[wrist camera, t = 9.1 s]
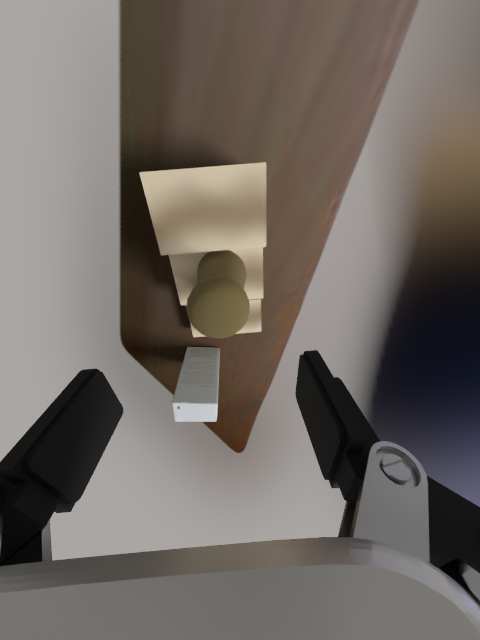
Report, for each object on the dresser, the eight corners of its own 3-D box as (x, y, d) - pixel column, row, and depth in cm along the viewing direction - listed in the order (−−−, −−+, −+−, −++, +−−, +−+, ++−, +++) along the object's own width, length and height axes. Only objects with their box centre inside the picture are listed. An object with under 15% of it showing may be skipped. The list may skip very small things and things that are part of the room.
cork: (206, 301, 26) (193, 356, 17) (189, 256, 23) (163, 291, 14) (250, 290, 26) (263, 341, 16) (240, 242, 23) (248, 270, 13)
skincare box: (188, 363, 38) (173, 422, 28) (187, 345, 36) (170, 402, 26) (220, 364, 39) (216, 423, 28) (220, 346, 36) (217, 403, 26)
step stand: (163, 181, 24) (139, 172, 17) (255, 173, 24) (266, 162, 17) (195, 328, 34) (188, 358, 28) (259, 323, 34) (266, 351, 28)
